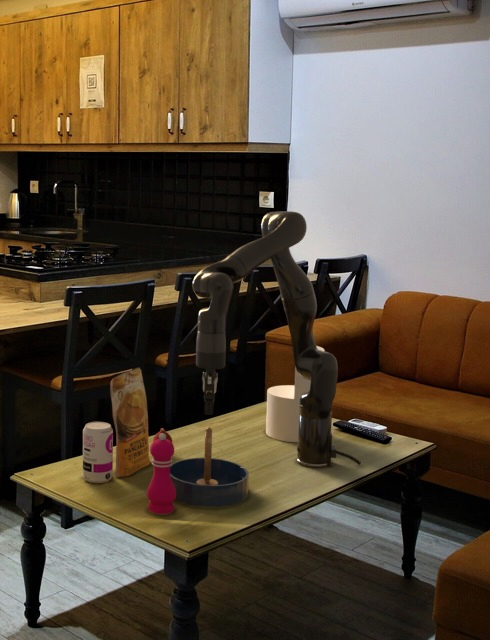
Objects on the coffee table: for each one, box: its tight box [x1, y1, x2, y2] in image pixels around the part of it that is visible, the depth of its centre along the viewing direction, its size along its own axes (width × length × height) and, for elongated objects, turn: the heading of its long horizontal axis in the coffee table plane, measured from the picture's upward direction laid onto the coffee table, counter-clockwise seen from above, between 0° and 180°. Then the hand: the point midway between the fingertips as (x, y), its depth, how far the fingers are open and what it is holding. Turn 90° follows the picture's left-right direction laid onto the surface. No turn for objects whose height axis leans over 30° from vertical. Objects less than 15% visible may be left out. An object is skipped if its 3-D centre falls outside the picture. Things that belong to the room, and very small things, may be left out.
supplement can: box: [82, 421, 114, 484], centre depth 240 cm, size 8×8×15 cm
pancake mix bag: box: [109, 367, 151, 478], centre depth 247 cm, size 7×19×28 cm, turn 145°
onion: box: [152, 428, 174, 444], centre depth 261 cm, size 6×6×8 cm
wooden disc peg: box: [197, 426, 218, 485], centre depth 230 cm, size 6×6×17 cm
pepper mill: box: [146, 433, 176, 515], centre depth 218 cm, size 7×7×20 cm
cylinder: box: [265, 345, 326, 443], centre depth 281 cm, size 17×17×28 cm
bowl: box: [170, 457, 250, 508], centre depth 231 cm, size 21×21×6 cm
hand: (209, 409), depth 229 cm, fingers open, 8 cm apart
